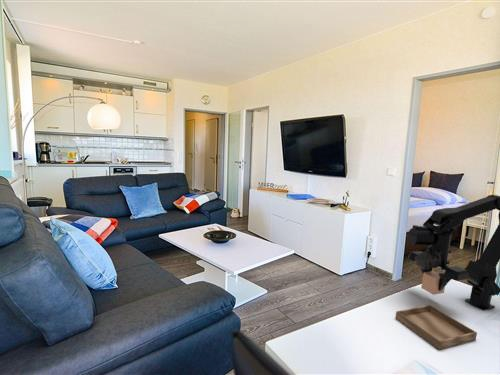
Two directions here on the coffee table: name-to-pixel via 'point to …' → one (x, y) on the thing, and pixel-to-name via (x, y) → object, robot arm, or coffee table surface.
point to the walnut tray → (435, 327)
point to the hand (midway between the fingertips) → (432, 286)
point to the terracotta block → (431, 282)
